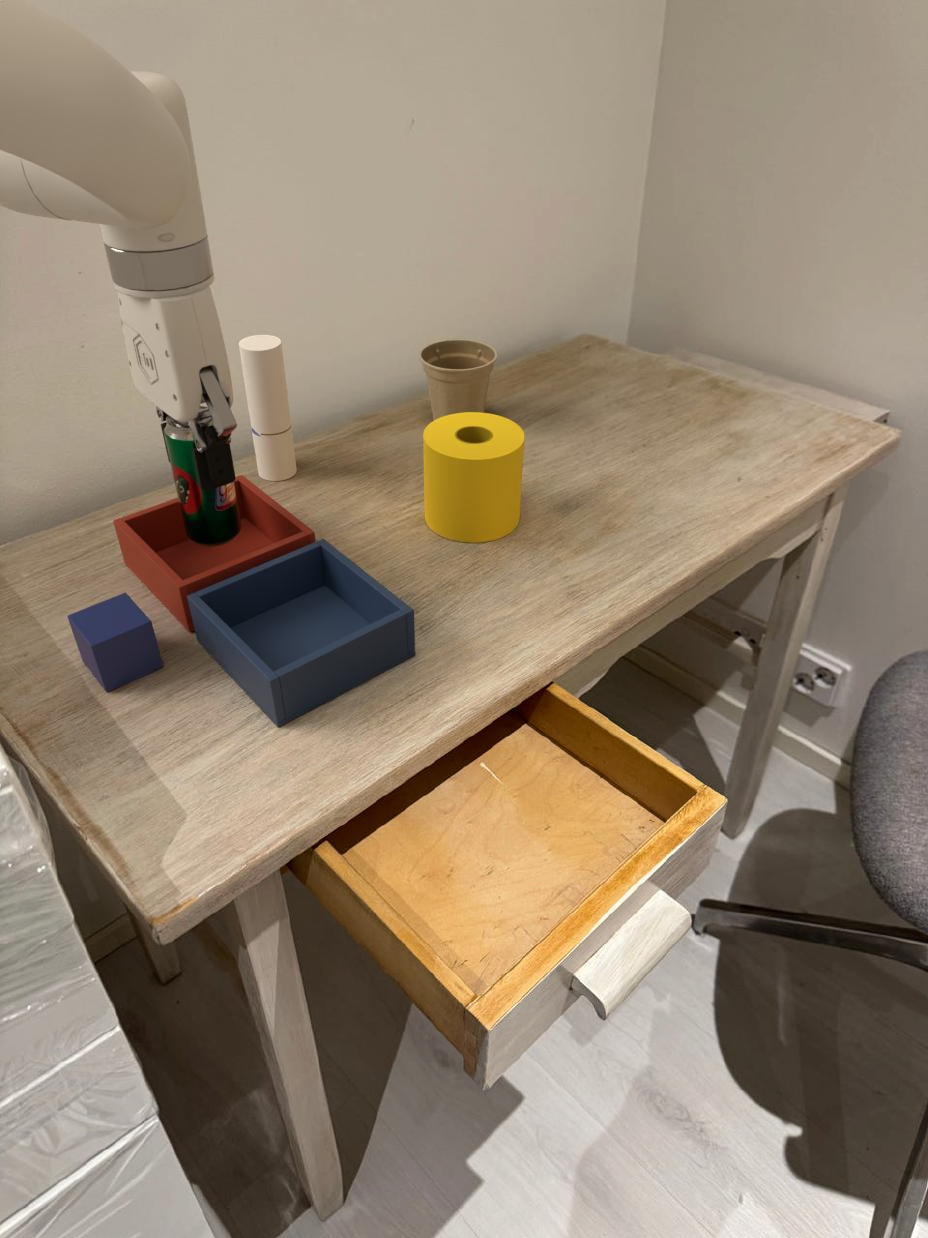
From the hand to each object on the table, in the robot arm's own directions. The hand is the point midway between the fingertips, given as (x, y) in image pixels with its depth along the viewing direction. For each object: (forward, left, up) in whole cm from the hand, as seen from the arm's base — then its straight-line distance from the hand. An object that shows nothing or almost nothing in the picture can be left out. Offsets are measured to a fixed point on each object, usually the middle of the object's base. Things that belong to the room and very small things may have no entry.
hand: (201, 470), depth 79 cm
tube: (+14, +13, -11) cm, 22 cm away
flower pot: (+38, +10, -11) cm, 41 cm away
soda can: (0, 0, -7) cm, 7 cm away
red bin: (0, 0, -11) cm, 11 cm away
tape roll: (+25, -8, -11) cm, 28 cm away
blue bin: (0, -15, -11) cm, 18 cm away
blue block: (-13, -7, -11) cm, 18 cm away
